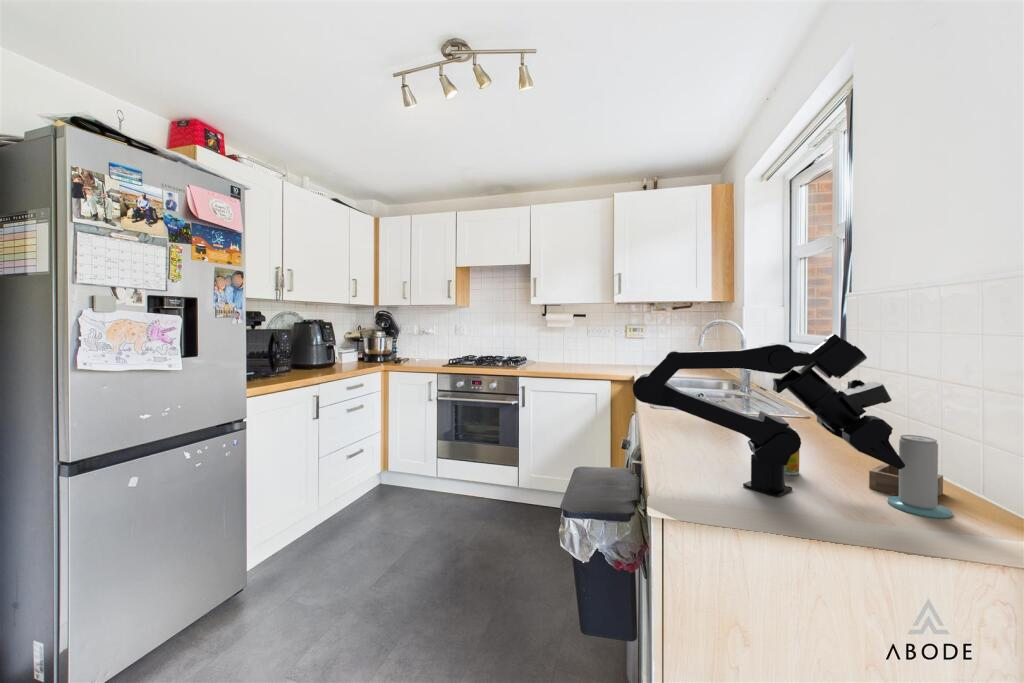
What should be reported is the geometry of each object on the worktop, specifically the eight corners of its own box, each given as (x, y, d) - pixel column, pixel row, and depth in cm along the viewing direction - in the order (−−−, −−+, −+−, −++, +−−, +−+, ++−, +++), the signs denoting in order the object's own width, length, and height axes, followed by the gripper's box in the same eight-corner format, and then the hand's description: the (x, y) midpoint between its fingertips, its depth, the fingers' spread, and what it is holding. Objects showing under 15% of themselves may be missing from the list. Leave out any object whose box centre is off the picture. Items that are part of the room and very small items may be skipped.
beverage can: (941, 513, 67) (942, 443, 67) (902, 506, 70) (903, 439, 70) (931, 503, 71) (932, 436, 71) (895, 497, 74) (895, 433, 74)
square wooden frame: (929, 503, 72) (930, 484, 72) (869, 487, 80) (869, 470, 80) (942, 493, 77) (943, 475, 77) (884, 479, 84) (884, 463, 84)
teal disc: (945, 522, 65) (945, 519, 65) (880, 505, 72) (881, 502, 72) (957, 511, 69) (957, 508, 69) (895, 495, 76) (895, 492, 76)
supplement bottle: (773, 473, 88) (773, 430, 88) (767, 466, 93) (768, 425, 93) (802, 477, 86) (803, 432, 86) (795, 469, 91) (795, 427, 91)
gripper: (878, 371, 65) (968, 445, 61) (837, 363, 82) (905, 421, 78) (818, 414, 68) (899, 488, 64) (790, 398, 85) (853, 455, 81)
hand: (889, 459), depth 72 cm, fingers open, 9 cm apart
